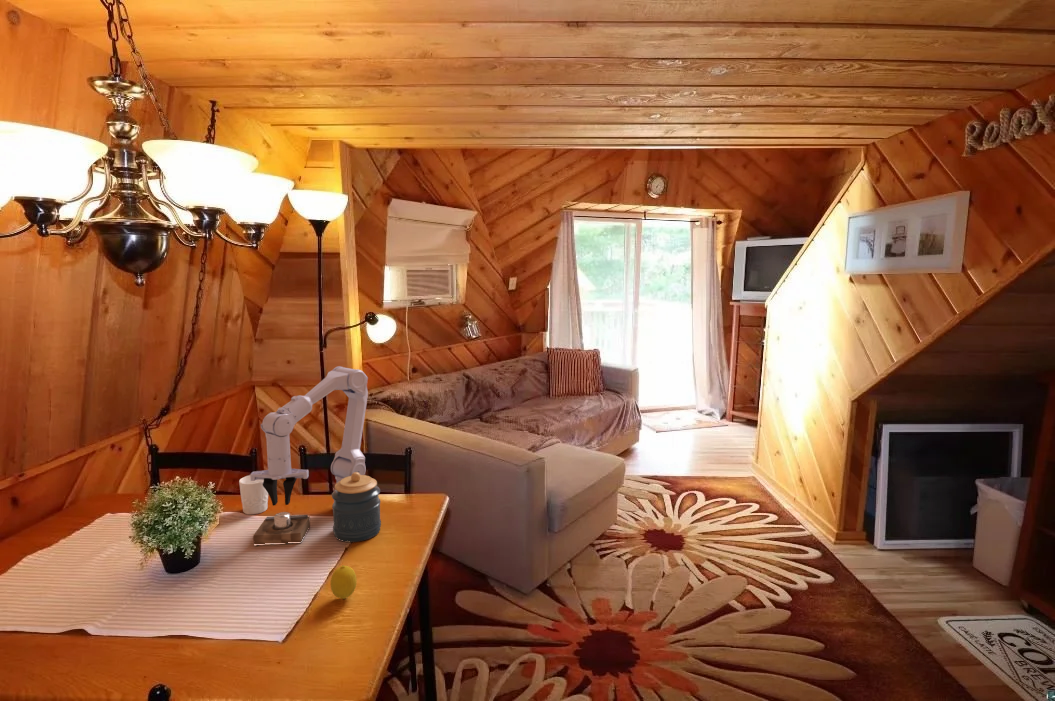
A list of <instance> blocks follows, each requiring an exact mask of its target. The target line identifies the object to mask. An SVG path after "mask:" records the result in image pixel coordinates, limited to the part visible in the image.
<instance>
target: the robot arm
mask: <svg viewBox="0 0 1055 701" xmlns="http://www.w3.org/2000/svg"><path fill="white" fill-rule="evenodd" d="M368 380H369V377H368V376H367V375H366V373H365V372H364V371H363V370H361V369H359V368H357V369H356V368H349V367H344V366H341V365H339V366H335V367H334V368H333V369H332V370H330V371H327V375H326V376H325V377H324V378H323V379H322V380H321V381H319V383H317V384H316V385H315V386H314V387H313V388H311V389H310V390H309V391H308V392H307V393H306V394H304V395H300V394H299V395H293V396H292V397H291V398H290V399H291V400H290V401H289V402H287V403H285V404H284V405H283V406H282V407H281V406H280V407H278V408H277V410H276V411H275V412H269V413H268V414H267V415H265V416H264V417H263V419H262V423H260V429H261V431H263V432H264V433H265V438H266V439H265V440H266V442H265V443H266V454H267V458H266V459H267V469H263V470H256V471H252V472H251V473H250V474H249V475H250V477H251V481H255V480H264V482H263V487H264V488H265V489H266V491H267V492H268V497H269V498H270V501H271V504H272V506H277V503H278V501H279V499H278V498H279V497H278V480H283V482H282V485H283V491H284V505H285V506H287V505H289V504H290V503H291V497H292V496H291V495H292V492H293V489H294V486H295V483H296V481H297V480H298V479H304V480H307V479H308V478H309V474H310V472H309V469H301V468H300V469H299V468H292V459H291V442H290V441H291V440H290V434H291V433H292V432H293V430H294V427H295V425H296V424H297V422H299V421H301V419H302V420H303V418H304V417H305V416H307V415H308V414H310V413H311V412H312V410H313V405H314V404H317V403H318V402H319V401H320V400H322V399H323V398H325V397H326V396H327V395H329V394H331V393H332V392H333V391H338V390H339V391H342V392H343V393H344V395H346V396H347V397H348V402H347V409H346V416H345V423H344V428H343V434H342V436H343V437H342V442H341V447H340V449H339V450H337V451H336V452H335V454H334V458H333V461H332V462H331V464H330V472H331V474H332V475H334V477H335V478H334V479H335V480H336V483H335V484H337V483H338V482H339V481H341V480H342V479H343V478H345V477H348V476H351V475H352V474H353V473H354V472H358V473H360V475H366V470H367V469H366V463H365V462H366V457H365V455H364V454H363V452H362V451H361V444H362V438H363V430H364V424H365V418H366V412H367V403H368V398H369V392H368V391H369V390H368ZM284 479H285V480H284Z"/></svg>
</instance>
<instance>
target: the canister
mask: <svg viewBox="0 0 1055 701" xmlns="http://www.w3.org/2000/svg"><path fill="white" fill-rule="evenodd" d="M334 489H335V490H333V492H332V493H331V498H332V499H333V503H332V516H333V519H332V520H333V525H332V531H333V535H335V536H334V537H335V538H336V539H337V538H338V539H340V540H339V541H341V540H343V541H342V542H345V541H350V542H349V543H357V542H362V541H366V540H369V539H372V538H373V537H375V536H377V535H379V532H380V531H381V526H382V521H381V520H382V519H381V499H380V498H379V495H380V493H381V488H380V487H379V486H378V481H377V480H376V479H375V478H372V477H371V476H369V475H366V474H365V475H360V473H358V472H354V473H353V474H352V475H351V476H348V477H345V478H343V479H342V480H341V481H339V482H338V483H335V485H334ZM338 539H337V540H338Z"/></svg>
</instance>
